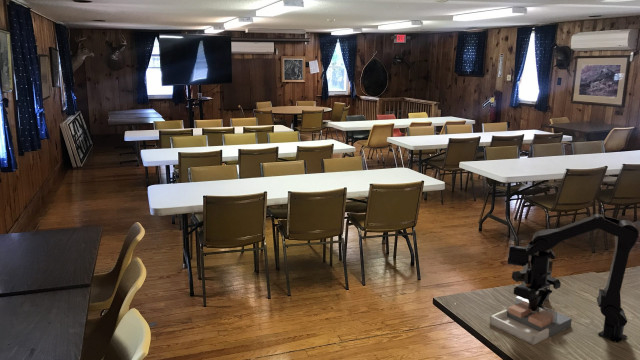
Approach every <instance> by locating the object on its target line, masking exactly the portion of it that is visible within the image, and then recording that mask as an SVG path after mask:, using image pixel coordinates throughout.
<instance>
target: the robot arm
mask: <svg viewBox="0 0 640 360" xmlns="http://www.w3.org/2000/svg"><path fill="white" fill-rule="evenodd" d="M598 229H599V230H601V231H604V232H606V233H608V234H610V235H612V236H614V251H613V256H612V260H611V265H610V267H609V268H610V269H609V273H608V277H607V283H606V284H605V285H606V286H605V287H604V288H603V289H602V288H598V296H597V297H596V301H597V306H598V307H599V310H600V313H601V314H602V316H604V321H603V330H601V331H599V332H598V333H597V335H599V336H600V337H603V338H605V339H607V340H610V341H612V342H614V343H620V342H622V341H624V340H625V339H628V335H627V334H624V328H625V326H626V325H627V323H628V318H627V316H626V313H625V311H624V309H623V307H622V303H621V302H622V301H621V290H622V286H623V281H624V278H625V273H626V268H627V264H628V260H629V255H630V252H631V251H632V249H633V248H634V247H635V245H636V243H637V241H638V239H639V236H640V232H639V230H638V228H637V226H636V225H635V223H634V222H633V221H631V220H628V219H622V220H621V219H618V218H615V217H611V216H606V215H603V214H601V213H596V214H593V215H591V216H589V217H586V218H583V219H581V220H578V221H575V222H572V223H569V224H565V225H564V226H561V227H558V228H548V229H542V230H537V231H535V232H534V233H533V234H532V239H531V240H530V241H529V242H528V243H527V244H526V245H525V246H520V245H519V246H518V245H515V244H514V245H513V244H510V245H509V249H508V253H507V254H508V255H507V265H511V266H518V267H523V266H525V265H526V263H527V264H528V261H529V255H530V256H531V263H530V269H527V270H523V269H522V270H515V271H512V272H511V273H512V274H511V279H512V280H513V281H515V283H519V282H522V281H525V284H529V286H525V285H523V284H522V285H521V284H520V285H517V286H514V288H513V295H515V296H516V297H517V296H519V297H522V298H524V299H527V300H529V304H530V307H531V310H532V311H535V309H536V307H537V305H538V304H540V305H542V306H544V305H543V304H545V302H546V301H547V300H546V299H547V298H548V296H549V297H550V295H551V294H552V293H553V290H551V289H550V290H549V288H548V286H549V285H550V286H551V285H552V286H553V287H552V288H554V289H555V290H557V289H560V288H561V284H562V282H561V281H560V279H559V278H555V277H553V276H552V275H551V276H548V275H550V273H551V272H550V271H548V266H549V258H550V259H556V258H557V257H556V253H555V252H554V251H553V250H552V249H553V248H554V247H556V246H558V245H559V244H561V243H562V242H564V241H566V240H569V239H572V238H575V237H578V236H581V235H583V234H587V233H590V232H592V231H593V232H594V231H595V230H598Z"/></svg>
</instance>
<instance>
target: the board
mask: <svg viewBox="0 0 640 360" xmlns="http://www.w3.org/2000/svg"><path fill="white" fill-rule="evenodd" d="M508 309H509V307H508V308H506V309H505V310H508ZM530 315H533V314H531V313H529V315H526V316H524V317H522V318H519V317H517V316H515V315H513V314H511V313H509V312H508V311H507V317H509V318H511V319H513V320H515V321H518V322H520V323H522V324H524V325H526V326H528V327H531V328H533V329H535V330H537V331H539V332H540V331H542V330H544V329H546V328H548V329H549V337H548V338H550V337H552V336H555V335H556V334H559V333H560V332H562V331H565V330H567V329H568V328H570V327H572V319H573V318H572V317H569V316H566V315H565V314H562V313H560V312H557V322H555V323H551V324H548V325H546V326H544V327H542V328H541V327H539V326H537V325H535V324H533V323H530V322H528V320H529V316H530Z"/></svg>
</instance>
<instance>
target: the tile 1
mask: <svg viewBox="0 0 640 360" xmlns="http://www.w3.org/2000/svg"><path fill="white" fill-rule="evenodd" d="M508 308H509V309H508ZM508 308H507V309H508V312H509V313H511V314H513V315H515V316H517V317H519V318H522V317H524V316H526V315H529V313H530V309H528V308H526V307H524V306H522V305H520V304H515V303H514V304H513V305H511V306H508Z"/></svg>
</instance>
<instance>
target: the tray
mask: <svg viewBox="0 0 640 360" xmlns="http://www.w3.org/2000/svg"><path fill="white" fill-rule="evenodd" d="M507 311H508V310H506V309H503V310H502V311H501V310H500V311H499V312H497V313H495V314H492V315H489V325H491V326H494V327H496V328H497V329H499V330H502V331H504V332H506V333H508V334H509V335H512V336H514V337H516V338H517V339H520V340H522V341H523V342H525V343H528V344H530V345H532V346H534V345H536V344H538V343H540V342H542V341H544V340H546V339H549V338H550V337H549V329H548V328H546V329H544V330H542V331H540V332H539V331H537V330H535V329H533V328H531V327H528V326H526V325H524V324H522V323H520V322H518V321H515V320H513V319H511V318H509V317H507Z"/></svg>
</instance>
